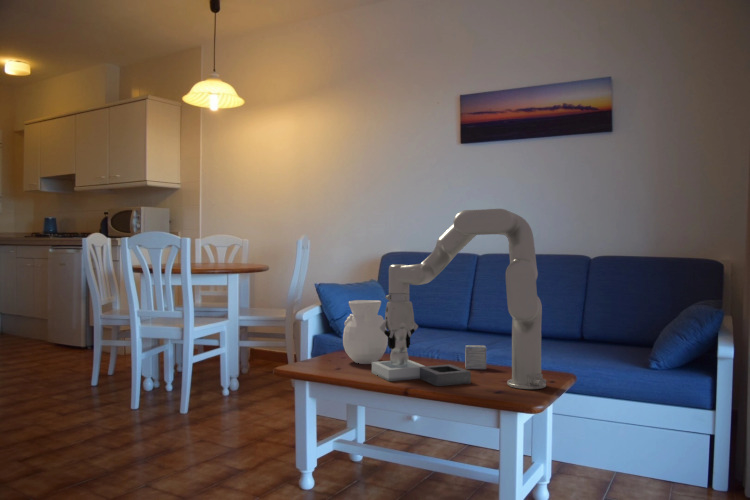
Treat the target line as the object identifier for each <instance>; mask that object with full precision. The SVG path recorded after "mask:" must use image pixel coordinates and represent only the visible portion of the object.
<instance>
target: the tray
mask: <svg viewBox="0 0 750 500" xmlns="http://www.w3.org/2000/svg"><path fill="white" fill-rule="evenodd" d="M424 366H425V367H426V365H423V364H421V363H418V362H417V361H415V360H414V361H413V360H410V359H409V358H408V363H407V364H405V365H401V366H398V365H394V364H392V363H391V361H390V360H382V361H381V360H379V361H378V362H372V364H371V374H373V375H374V376H377V375H378V376H377V377H379V378H380V379H383V380H385V381H386V382H400V381H407V380H408V381H409V380H410V381H411V380H421V379H420V367H424Z"/></svg>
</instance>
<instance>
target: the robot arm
mask: <svg viewBox="0 0 750 500" xmlns="http://www.w3.org/2000/svg"><path fill="white" fill-rule="evenodd" d="M453 218H454V219H453V223H452V224H451V226H450V227H449V228H447V229H446V230H445V232H443V233H442V235H440V236H439V238H438V239H437V240H436V244H435V247H434V249H433V250H432V252H431V253H430V254H429V255H428V256H427V257H426V258H425V259H424V260H423V261H422V262H421V263H416V264H415V263H414V264H409V265H408V264H401V263H399V264H397V263H396V264H390V265H389V267H388V293H387V295H385V300H388V302H386V307H385V312H384V315H385V316H384V320H385V321H384V322H383V324H382V325H381V326H380V328H379V329H380V330H381V331H382V332H384V334H385V335H386V336H387V337H388V343H387V347H388V349H394V338H393V334H394V330H399V329H400V328H399V325H400V324H401V323H402V322H403V323H404V324H405V325H406V328H405V329H407V339H406V340H407V349H409V348H410V346H411V337H412V335H413V334H414V333H415V331H417V329H418V328H419V325H418V324H417V323H416V321H415V316H414V315H415V312H414V308H413V303H412V302H413V301H410V285H412V286H420V285H426V284H429V283H430V282H432V281H433V280H434V279H435V278H437V276H438V275H440V273H441V272H443V270H445V268H446V267H447V266H448V265H449V264H450V263H451V261H453V259H454V258H455V257H456V256H457V255H458V253H460V252H461V251H462V250H463V249H464V248H465V247H466V246H467V245H468V244H469V243H470V242H471V241H472V240H473V239H475V237H477V236H479V235H480V236H481V235H483V236H485V235H500V236H505V237H506V238H507V241H508V253H509V264H508V266H507V267H506V270H505V289H506V303H507V311H508V313H509V315H510V317H511V319H512V322H511V378H510V379H508V380H507V382H506V383H507V386H508V387H510V388H515V389H521V390H539V389H540V390H541V389H544V388H546V387H547V379H545V378H543V373H542V321H543V319H542V317H543V315H542V314H543V307H542V306H543V305H542V301H541V299H540V297H539V296H538V291H537V288H538V287H537V279H538V276H539V271H538V268H537V267H538V266H537V265H538V264H537V258H536V257H537V256H536V249H535V239H534V233H533V230H532V228H531V225H530V224H529V223H528V222H527V220H526V219H525V218H523V217H522V216H520V215H518V214H516V213H515V212H511V211H510V210H507V209H504V208H486V209H463V210H461V211H459V212H458V213H457V214H455V216H454V217H453ZM385 327H386V329H387V330H386V329H385Z"/></svg>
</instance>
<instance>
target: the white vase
mask: <svg viewBox="0 0 750 500" xmlns="http://www.w3.org/2000/svg"><path fill="white" fill-rule="evenodd" d="M381 305H382V301H381V300H378V299H377V300H374V299H372V300H371V299H370V300H368V299H366V300H365V299H362V300H361V299H355V300H349V301H348V306H349V308H350V311H351V313H350V314H349V315H348V316H347V317H346V320H345V321H344V323H343V325H344V328H343V334H342V335H343V336H342V346H343V349H344V351H345V353H346V354H347V355H348V357H349V358H350V359H351V360H352V361H353V362H354V363H355V364H358V363H359V364H360V365H372V362H379V361H380V359H382V357H383V356H384V354H385V352H386V350H387V348H388V337H387V336H386V335H385V334H384V332H382V331H381V330H380V329H379V328H380V326H381V325H382V324H383V322H384V321H385V318H384V317H383V316H382V315H379V310H380V308H381ZM385 329H386V330H387V331H388V329H387V328H386V327H385Z"/></svg>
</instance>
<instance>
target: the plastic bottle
mask: <svg viewBox="0 0 750 500" xmlns="http://www.w3.org/2000/svg"><path fill="white" fill-rule="evenodd" d="M399 328H400V329H399V330H394V334H393V338H394V349H391V350H390V356H389V361H391V363H392V364H394V365H398V366H401V365H405V364H407V363H408V359H409V353H408V348H407V340H406V339H407V329H405V328H406V325H405V324H404V323H403V322H402V323H401V324H400V325H399Z"/></svg>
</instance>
